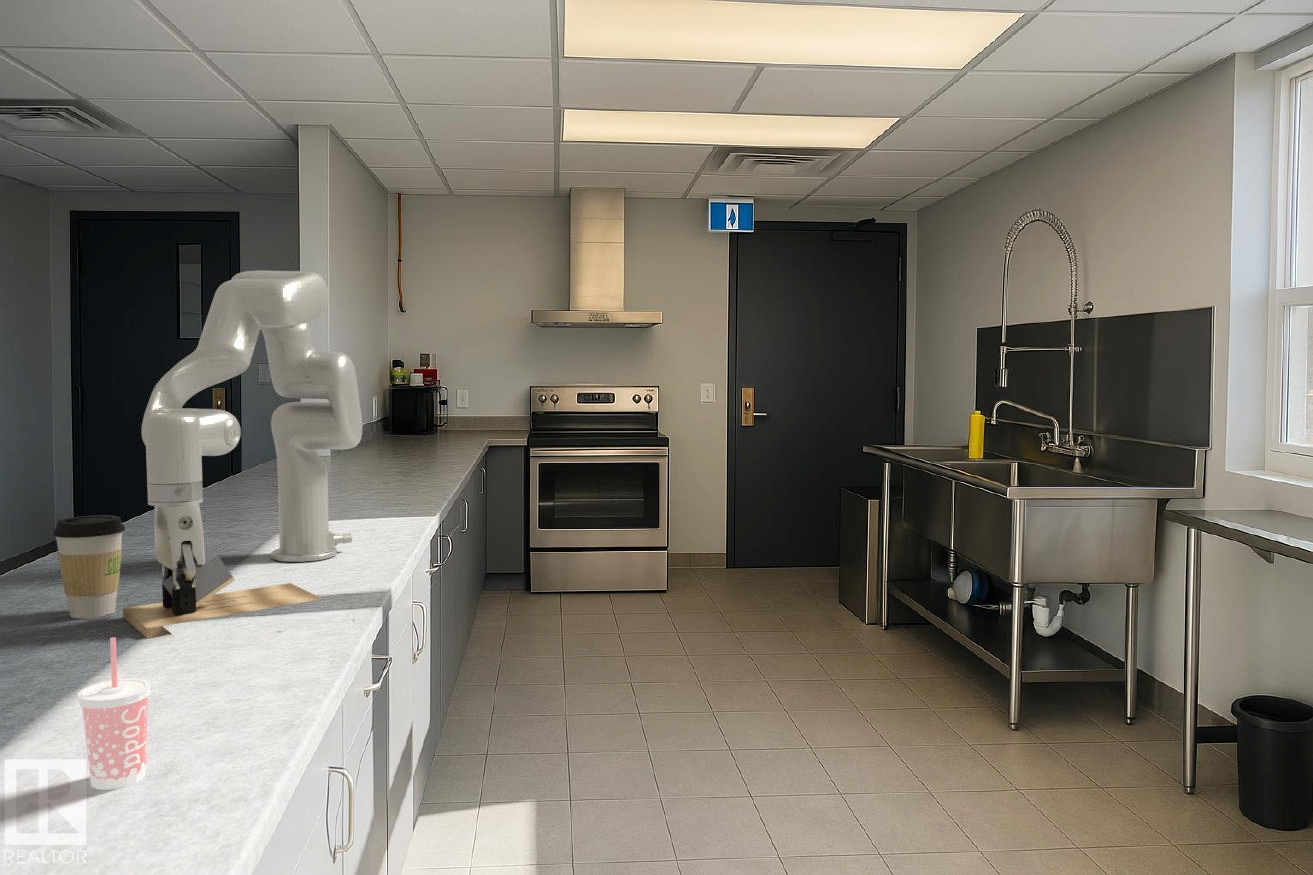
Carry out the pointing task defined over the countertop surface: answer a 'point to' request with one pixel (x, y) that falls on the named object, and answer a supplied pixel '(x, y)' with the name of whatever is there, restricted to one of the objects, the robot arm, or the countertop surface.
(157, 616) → the board
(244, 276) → the robot arm
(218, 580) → the block
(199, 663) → the countertop surface
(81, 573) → the coffee cup
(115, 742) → the beverage cup
